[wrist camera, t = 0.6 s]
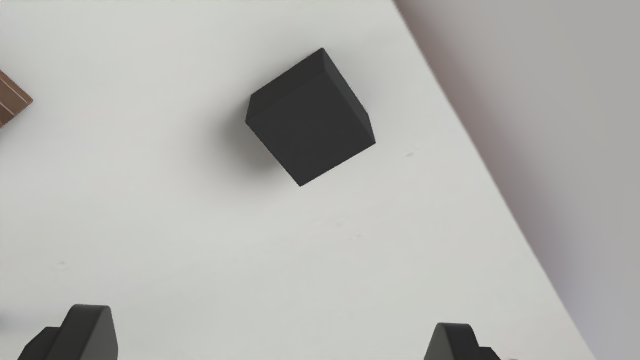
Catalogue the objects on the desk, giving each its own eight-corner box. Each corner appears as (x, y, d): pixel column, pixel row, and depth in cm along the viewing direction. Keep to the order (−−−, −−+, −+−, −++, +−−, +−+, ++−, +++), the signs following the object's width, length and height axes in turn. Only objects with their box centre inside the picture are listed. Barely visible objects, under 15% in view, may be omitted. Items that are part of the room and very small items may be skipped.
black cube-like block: (250, 94, 27) (244, 121, 24) (322, 46, 26) (325, 69, 23) (300, 156, 29) (299, 187, 27) (368, 115, 28) (376, 143, 25)
